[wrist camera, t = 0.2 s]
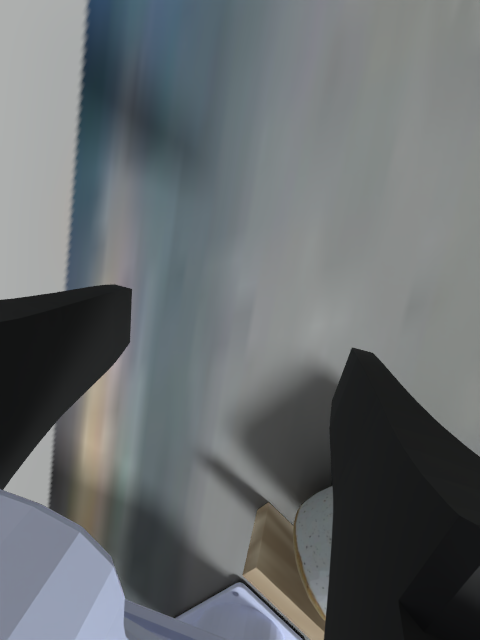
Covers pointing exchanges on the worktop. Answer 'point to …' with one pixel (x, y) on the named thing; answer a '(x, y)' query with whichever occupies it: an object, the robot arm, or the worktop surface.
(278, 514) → the brown wooden pieces
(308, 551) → the ceramic mug
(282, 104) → the worktop surface
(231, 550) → the worktop surface
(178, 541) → the worktop surface
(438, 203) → the worktop surface
